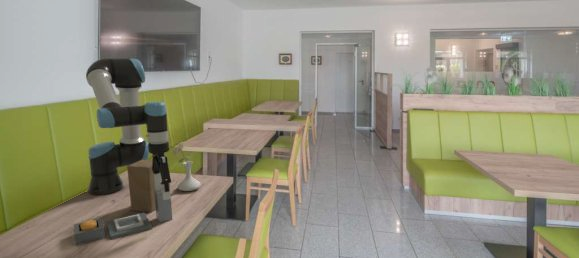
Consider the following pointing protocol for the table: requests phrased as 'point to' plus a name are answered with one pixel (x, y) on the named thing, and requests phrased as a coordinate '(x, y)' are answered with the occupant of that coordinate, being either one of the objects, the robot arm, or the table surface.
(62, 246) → the table surface
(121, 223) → the plate
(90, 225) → the button
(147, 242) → the table surface
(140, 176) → the wooden block
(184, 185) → the flower in vase
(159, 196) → the steel billet
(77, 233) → the button station
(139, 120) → the robot arm
